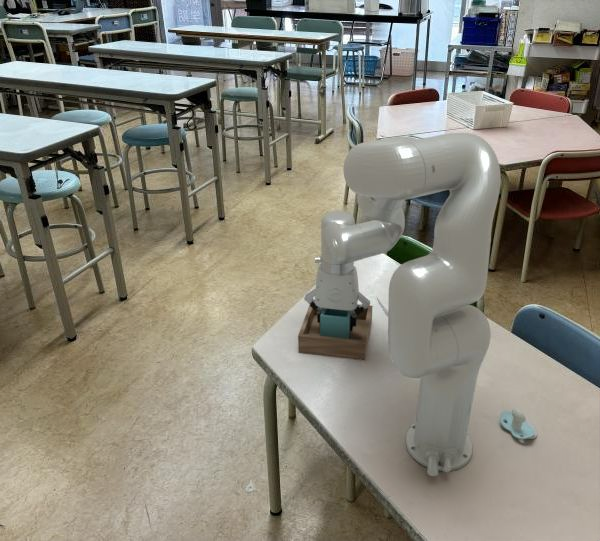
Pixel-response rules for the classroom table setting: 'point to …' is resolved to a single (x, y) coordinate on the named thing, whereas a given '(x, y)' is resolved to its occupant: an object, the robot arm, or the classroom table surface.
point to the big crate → (335, 346)
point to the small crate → (335, 323)
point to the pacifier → (518, 424)
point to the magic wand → (383, 307)
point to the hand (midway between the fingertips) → (336, 325)
